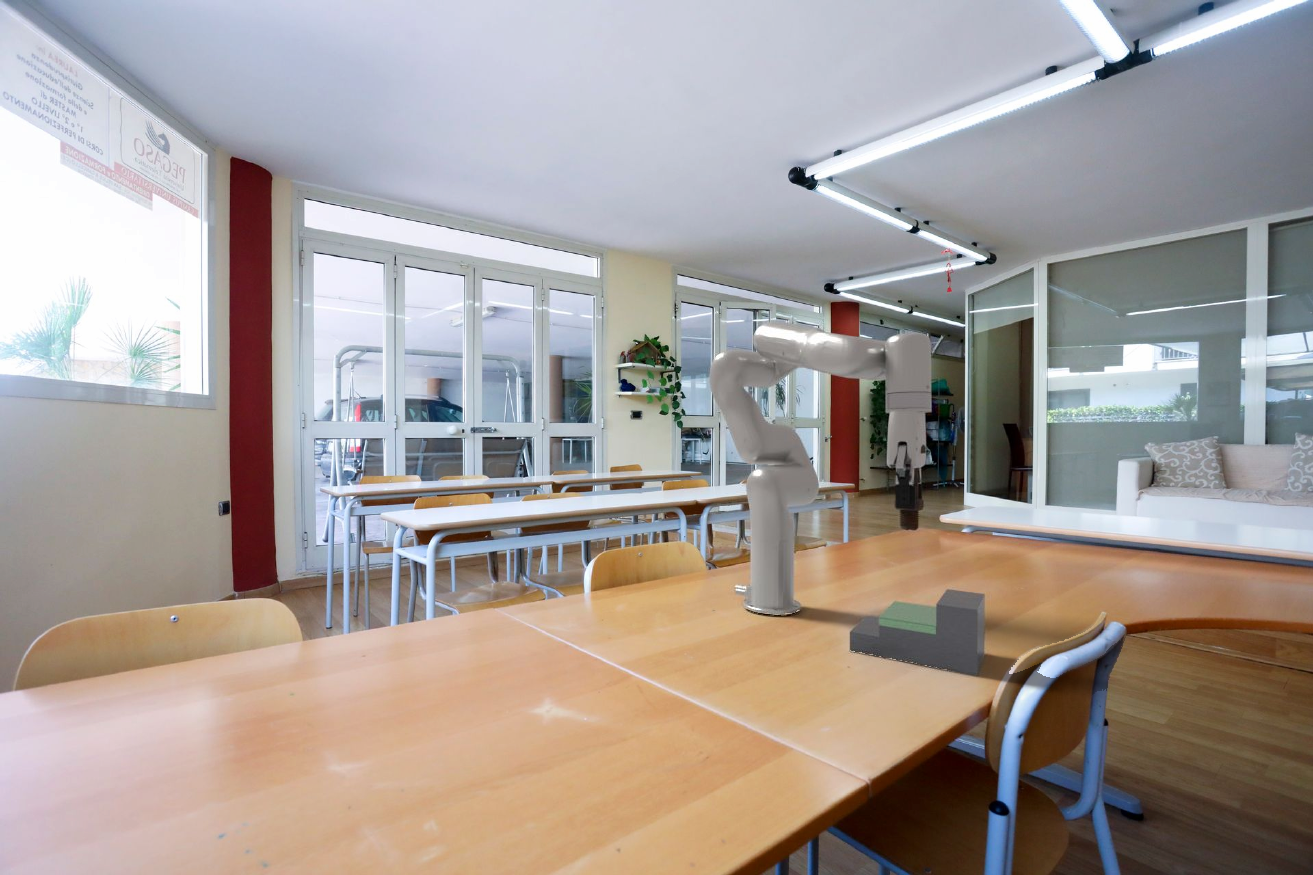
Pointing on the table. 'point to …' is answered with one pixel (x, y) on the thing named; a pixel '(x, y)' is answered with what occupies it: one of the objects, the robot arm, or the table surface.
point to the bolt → (911, 515)
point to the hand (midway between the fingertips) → (909, 505)
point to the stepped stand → (928, 633)
